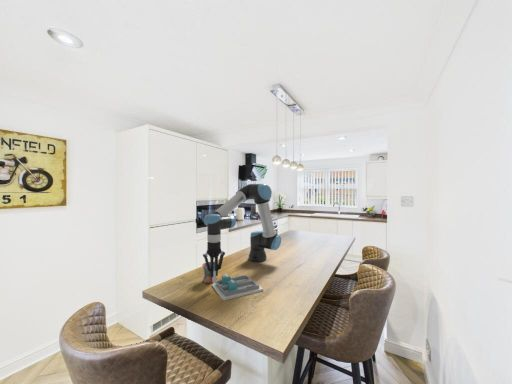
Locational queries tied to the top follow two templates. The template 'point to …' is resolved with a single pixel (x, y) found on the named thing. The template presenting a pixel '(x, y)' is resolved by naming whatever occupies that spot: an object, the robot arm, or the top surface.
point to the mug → (207, 274)
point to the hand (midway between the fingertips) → (214, 281)
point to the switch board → (243, 287)
